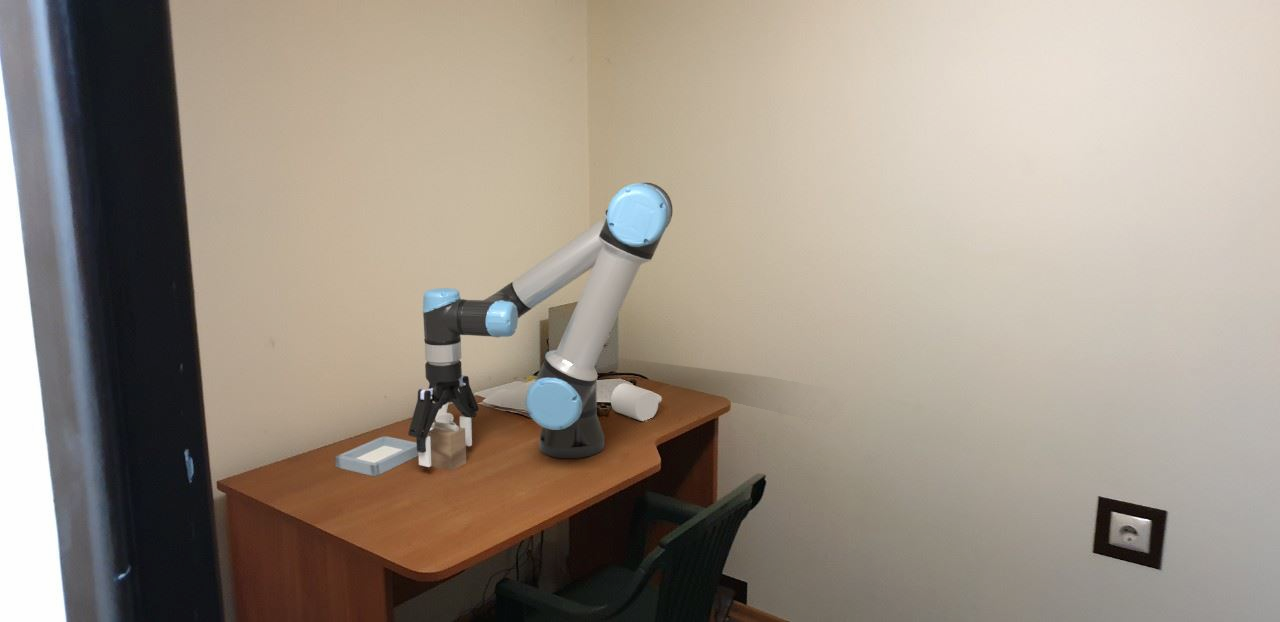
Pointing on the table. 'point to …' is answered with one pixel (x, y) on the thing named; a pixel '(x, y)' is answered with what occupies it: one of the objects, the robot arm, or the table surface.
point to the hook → (444, 416)
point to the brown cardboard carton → (447, 446)
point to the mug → (635, 401)
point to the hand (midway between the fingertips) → (446, 454)
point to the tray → (377, 456)
